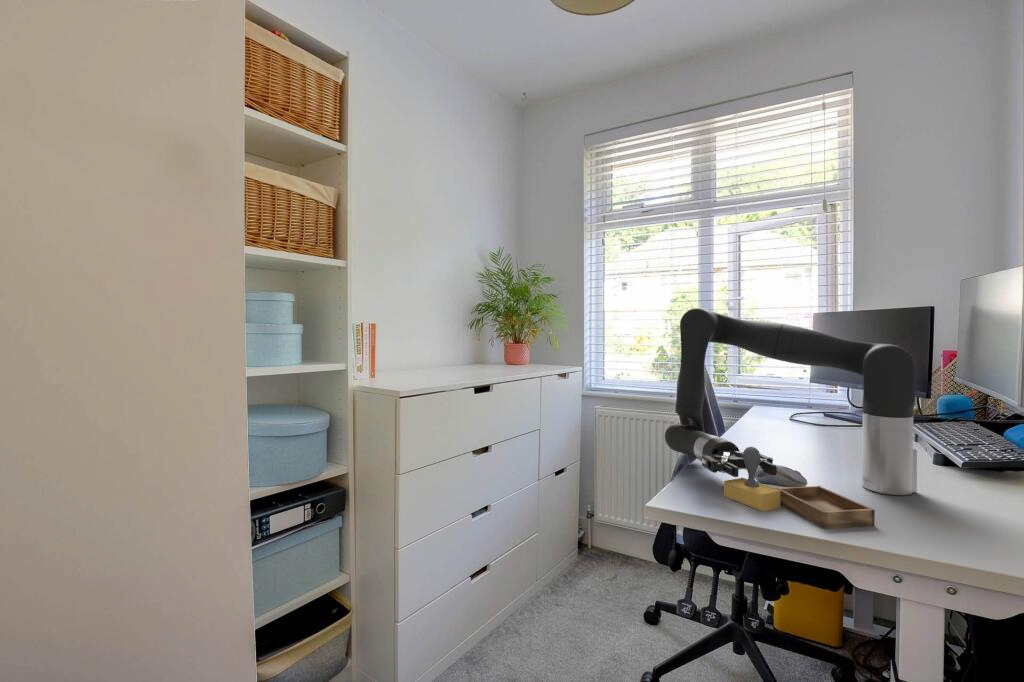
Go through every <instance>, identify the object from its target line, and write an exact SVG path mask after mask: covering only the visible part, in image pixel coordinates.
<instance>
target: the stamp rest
mask: <svg viewBox="0 0 1024 682" xmlns="http://www.w3.org/2000/svg"><path fill="white" fill-rule="evenodd" d="M774 488H775V489H778V490H780V506H782V507H784V508H786V509H788V510H789V511H791V512H793V513H795V514H797V515H799V516H800V517H802V518H804V519H806V520H808V521H810V522H812V523H813V524H815V525H817V526H819V527H820V528H822V529H824V530H825V529H840V528H857V527H858V528H859V527H872V526H874V527H875V526H876V525H875V523H876V522H875V520H876V519H875V517H876V516H875V511H876V510H875V509H873V508H872V507H869V506H867V505H864V504H862V503H860V502H858V501H856V500H853V499H851V498H848V497H846V496H843V495H842V494H839V493H836V492H834V491H832V490H829V489H827V488H825V487H823V486H821V485H809V486H790V487H788V486H786V487H774Z"/></svg>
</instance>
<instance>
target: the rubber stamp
mask: <svg viewBox="0 0 1024 682" xmlns="http://www.w3.org/2000/svg"><path fill="white" fill-rule="evenodd" d="M742 452H743V460H744V463H745V466H746V469H747V470H746V471H747V475H748V477H747V478H744V477H737V478H733V479H728V480H724V481H723V497H724V496H725V497H724V498H726V497H728V498H727V499H729V498H731V499H733V500H732V501H734V500H735V501H734V502H737V501H738V503H739V502H741V503H740V504H742V503H743V504H742V505H744V504H745V506H747V505H748V506H747V507H749V506H750V508H752V507H753V508H752V509H754V508H755V510H757V509H758V510H757V511H760V512H767V511H771V509H772V510H776V509H780V508H781V505H780V490H778V489H775V488H776V487H772V486H768V485H766V484H762V483H760V482H757V481H756V473H757V471H758V470H757V468H758V467H760V466H759V464H760V459H761V457H760V454H761V453H760V451H759V450H758V449H757V447H755V446H748V447H746V448H745V449H744V450H743V451H742ZM731 499H730V500H731ZM766 510H767V511H766Z"/></svg>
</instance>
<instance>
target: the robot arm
mask: <svg viewBox="0 0 1024 682" xmlns="http://www.w3.org/2000/svg"><path fill="white" fill-rule="evenodd" d="M679 332H680V366H679V367H680V368H679V376H678V377H679V378H678V385H677V393H676V399H675V409H674V410H675V413H676V414H677V415H678V416H679V417H683V418H687V419H688V421H689V424H672V425H670V426H668V427H667V429H666V430H665V433H664V441H665V443H666V445H667V447H668V448H670V449H671V450H672V451H675V452H677V453H679V454H680V453H681V454H684V455H689V456H692V457H694V458H696V459H697V460H699V461H700V462H701V466H702V467H704V468H705V469H706V470H708V471H710V472H712V473H714V474H715V473H718V472H720V473H722V474H728V475H730V476H731V477H733V478H739V470H740V471H741V470H744V471H747V469H746V466H745V463H744V460H743V452H744V451H741V450H740V449H739V447H738V446H737V445H736V444H735V443H733V442H731V441H730V440H727V439H724V438H722V437H719V436H718V435H712V434H709V433H707V432H706V430H705V426H704V418H703V417H704V416H703V407H704V401H705V400H704V399H705V392H706V391H705V390H706V389H705V388H706V379H705V363H706V355H707V350H708V349H707V348H708V346H709V343H716V344H723V345H729V346H734V347H736V348H741V349H742V350H746V351H748V352H750V353H753V354H755V355H756V354H757V355H758V356H761V357H765V358H768V359H772V360H777V361H780V362H785V363H790V364H796V365H802V366H812V367H824V368H833V369H838V370H842V371H846V372H849V373H853V374H856V375H859V376H863V394H862V395H863V396H862V437H861V438H862V443H861V444H862V445H861V446H862V450H861V451H862V455H861V457H862V458H861V459H862V461H861V468H862V469H861V471H862V472H861V475H862V477H861V480H862V482H861V484H862V487H864V489H867V490H869V491H873V492H876V493H880V494H884V495H885V494H886V495H892V496H893V495H894V496H909V495H912V494H913V493H917V491H918V450H917V449H915V448H914V412H915V411H914V408H915V405H916V404H915V403H916V382H917V381H916V378H917V377H916V376H917V374H916V373H917V367H916V360H915V358H914V357H913V355H912V354H911V352H910V351H908V350H907V349H906V348H904V347H902V346H900V345H896V344H893V343H892V344H891V343H878V342H877V343H876V342H865V341H857V340H850V339H845V338H840V337H837V336H833V335H829V334H827V333H824V332H820V331H817V330H814V329H809V328H806V327H802V326H797V325H791V324H786V323H780V322H773V321H764V320H751V319H750V320H748V319H741V318H736V317H732V316H728V315H724V314H721V313H719V312H715V311H712V310H710V309H707V308H702V307H697V308H696V307H695V308H694V307H693V308H691V309H689V310H687V311H686V312H685V313H684V314H683V315H682V317H681V319H680V321H679ZM760 457H761V459H760V464H759V466H758V468H757V471H762V472H764V473H766V474H769V475H771V476H776V475H777V474H778V472H777V471H778V470H777V469H778V468H777V467H778V466H777V465H776V464H774V458H773V457H770V456H767V455H764V454H762V453H760Z"/></svg>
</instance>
